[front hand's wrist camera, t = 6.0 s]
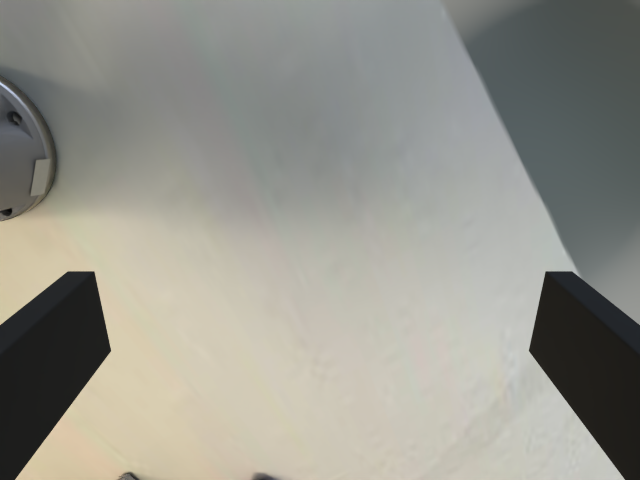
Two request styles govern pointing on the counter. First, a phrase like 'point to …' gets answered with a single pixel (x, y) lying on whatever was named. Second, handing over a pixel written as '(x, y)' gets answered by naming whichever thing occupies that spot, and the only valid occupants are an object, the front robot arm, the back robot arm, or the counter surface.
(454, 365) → the counter surface
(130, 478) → the transformer
